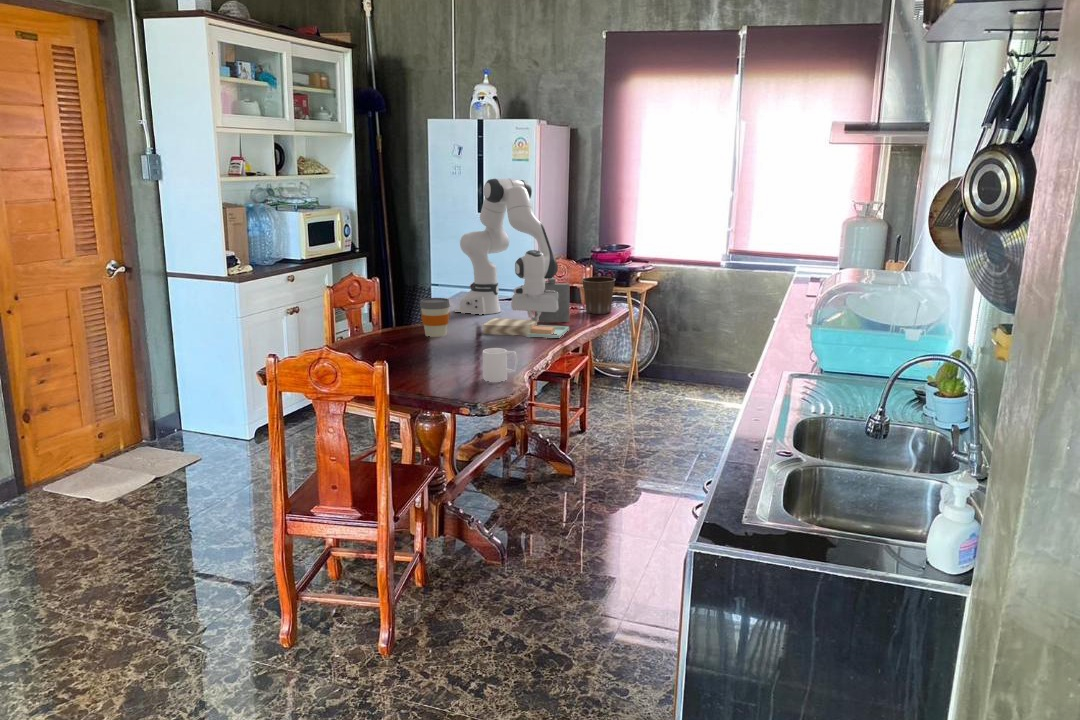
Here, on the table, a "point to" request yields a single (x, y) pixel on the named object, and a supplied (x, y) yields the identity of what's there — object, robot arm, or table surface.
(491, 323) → the beige flat block
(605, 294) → the plant pot
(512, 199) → the robot arm
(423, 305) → the reusable coffee cup
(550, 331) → the salmon pink block
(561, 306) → the hip flask
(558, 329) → the tray
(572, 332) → the table surface
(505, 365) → the cup
